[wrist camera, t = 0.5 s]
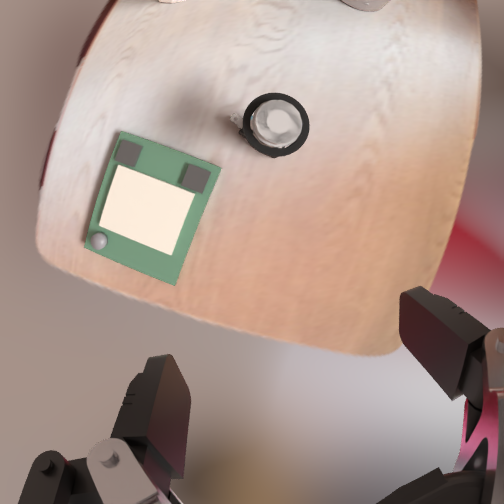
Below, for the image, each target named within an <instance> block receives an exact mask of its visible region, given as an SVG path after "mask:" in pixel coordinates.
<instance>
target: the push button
mask: <svg viewBox="0 0 504 504" xmlns="http://www.w3.org/2000/svg"><path fill="white" fill-rule="evenodd" d="M254 111H255V113H254V115H253V116H252V114H253V112H254ZM234 118H237V120H234ZM230 121H231V122H233V123H234V124H236V125H238V126H237V127H238V128H240V129H241V130H240V131H239V134H240V135H242V136H243V137H245V138H246V139H247V140H248V142H249V143H250V144H251V146H252V147H253V148H255V149H256V150H257V151H259V152H261V153H263V154H265V155H269V156H271V157H272V158H277V157H279V156H285V155H289V154H291V153H293V152H295V151H297V150H298V149H299V148H300V147H301V146H302V145H303V144H304V142H305V141H306V139H307V137H308V133H309V119H308V116H307V113H306V111H305V109H304V108H303V106H302V105H301V104H300V103H299V102H298V101H297V100H295V99H294V98H292V97H290V96H288V95H285V94H281V93H268V94H264V95H261V96H259V97H257V98H256V99H254V100H253V101H252V102H251V103H250V104H249V105H248V107H247V109H246V110H245V113H244V116H243V118H241V117H240V116H238V115H237V114H235V113H233V115H232V116H231V117H230ZM291 143H292V144H291ZM290 144H291V145H290ZM288 145H289V146H288ZM285 146H288V147H286V148H284V147H285Z"/></svg>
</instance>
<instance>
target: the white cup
mask: <svg viewBox="0 0 504 504" xmlns="http://www.w3.org/2000/svg"><path fill="white" fill-rule="evenodd" d="M158 1H160V2H164V3H176V2H181V1H185V0H158Z"/></svg>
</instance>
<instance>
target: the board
mask: <svg viewBox="0 0 504 504" xmlns="http://www.w3.org/2000/svg"><path fill="white" fill-rule="evenodd" d="M221 169H222V168H220V167H218V166H215V165H213V164H210V163H208V162H205V161H203V160H200V159H198V158H195V157H192V156H190V155H187V154H185V153H182V152H179V151H177V150H174V149H171V148H168V147H166V146H163V145H160V144H157V143H155V142H152V141H149V140H146V139H143V138H140V137H138V136H135V135H132V134H129V133H126V132H123V131H121V133H120V135H119V138H118V140H117V143H116V145H115V148H114V151H113V153H112V156H111V159H110V161H109V164H108V167H107V170H106V173H105V176H104V178H103V181H102V185H101V188H100V191H99V194H98V197H97V200H96V204H95V207H94V211H93V214H92V218H91V222H90V225H89V229H88V233H87V237H86V241H85V246H84V248H86V249H89V250H91V251H93V252H95V253H97V254H100V255H102V256H104V257H106V258H109V259H111V260H113V261H116V262H118V263H120V264H123V265H125V266H127V267H130V268H132V269H134V270H137V271H139V272H142V273H144V274H146V275H149V276H151V277H154V278H156V279H159V280H161V281H164V282H166V283H169V284H171V285H174V286H175V285H176V282H177V279H178V277H179V274H180V271H181V268H182V266H183V263H184V260H185V258H186V255H187V252H188V250H189V247H190V245H191V242H192V239H193V237H194V234H195V232H196V229H197V227H198V224H199V222H200V219H201V217H202V214H203V212H204V209H205V207H206V204H207V202H208V200H209V197H210V195H211V192H212V190H213V188H214V185H215V183H216V181H217V178H218V176H219V174H220V171H221Z"/></svg>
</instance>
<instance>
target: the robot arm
mask: <svg viewBox="0 0 504 504" xmlns="http://www.w3.org/2000/svg"><path fill="white" fill-rule="evenodd" d="M341 1H343V2H344V3H346V4H348V5H350V6H352V7H354V8H356V9H359V10H363V11H378V10H380V9H381V8H383V7H384V6H385V5H386V4H387V3H388V2H390V1H391V0H341ZM399 334H400V337H401V340H402V342H403V344H404V345H405V347H407V349H408V350H409V351H410V352H411V353H412V354H413V356H414V357H415V358H416V359H417V360H418V361H419V362H420V363H421V365H422V366H423V367H424V368H425V369H426V370H427V372H428V373H429V374H430V375H431V376H432V377H433V379H434V380H435V381H436V382H437V383H438V384H439V386H440V387H441V388H442V389H443V391H444V392H445V393H446V394H447V395H448V397H449V398H450V399H451V400H452V401H453V400H455V399H456V398H458V397H460V396H461V395H463V394H464V395H465V396H466V397H467V398H466V401H465V406H464V420H463V432H462V440H461V448H460V452H459V456H458V458H457V461H456V463H455V466H454V469H453V472H452V473H447V474H444V475H443V474H442V472H441V470H440V469H439V467H438V468H436V469H435V470H433V471H431V472H429V473H427V474H426V475H424V476H422V477H420V478H418V479H416V480H414V481H412V482H410V483H408V484H406V485H403V486H401V487H399V488H398V489H397V490H395V491H394V492H393V493H391V494H390V495H388V496H387V497H385V498H384V499H382V500H381V501H379V502H378V503H376V504H504V328H497V329H494V330H490V329H488V328H487V327H486V326H484V325H483V324H482V323H480V322H479V321H478V320H476V319H475V318H474V317H473V316H471V315H470V314H468V313H467V312H464V310H463V309H462V308H460V307H457V305H456V304H455V303H453V302H452V301H450V300H449V299H448V298H445V297H442V296H439V295H435V294H434V295H433V294H432V293H430V292H429V291H428V290H426V289H425V288H423V287H422V286H418V287H415V288H413V289H410V290H407V291H405V292H402V293H401V295H400V309H399ZM122 404H123V406H121V408H120V411H119V414H118V417H117V420H116V422H115V425H114V428H113V431H112V434H111V437H110V438H109V439H105V440H102V441H100V442H98V443H97V444H96V445H94V446H93V447H92V449H91V450H90V451H89V453H88V456H87V457H86V458H81V459H76V460H71V461H67V460H66V459H65V458H64V457H63V456H62V455H61V454H60V453H59V452H57V451H52V450H50V451H46V452H44V453H42V454H40V455H39V456H38V457H37V458H36V459H35V461H34V462H33V464H32V467H31V469H30V472H29V474H28V477H27V480H26V482H25V485H24V488H23V491H22V494H21V496H20V500H19V502H18V504H183V503H182V502H181V500H180V499H179V498H178V497H177V496H176V494H175V493H174V492H173V491H172V490H171V489H170V481H171V479H183V476H184V466H185V455H186V444H187V434H188V425H189V416H190V408H191V396H190V392H189V388H188V386H187V384H186V382H185V380H184V378H183V376H182V374H181V372H180V370H179V368H178V366H177V364H176V362H175V360H174V358H173V356H172V355H170V354H167V355H161V356H155V357H149V358H148V360H147V363H146V366H145V369H144V371H143V373H138V374H137V376H136V377H135V378H134V379H133V380H132V381H131V383H130V384H129V387H128V389H127V392H126V397H124V400H123V403H122Z"/></svg>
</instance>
